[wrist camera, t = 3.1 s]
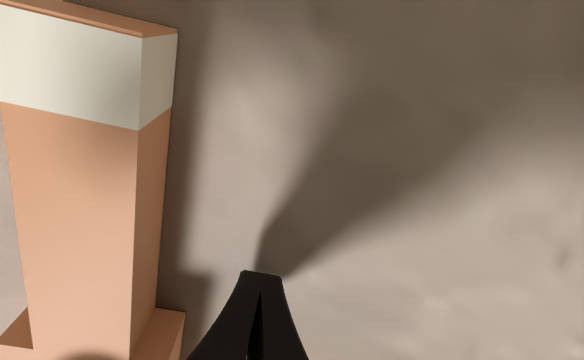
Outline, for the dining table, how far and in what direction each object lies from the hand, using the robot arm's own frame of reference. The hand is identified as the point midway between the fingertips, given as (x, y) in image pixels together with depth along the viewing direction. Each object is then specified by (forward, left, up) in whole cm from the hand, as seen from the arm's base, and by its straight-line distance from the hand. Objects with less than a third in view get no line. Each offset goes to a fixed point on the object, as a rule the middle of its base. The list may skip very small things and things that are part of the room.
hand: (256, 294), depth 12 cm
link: (0, +5, -1) cm, 5 cm away
